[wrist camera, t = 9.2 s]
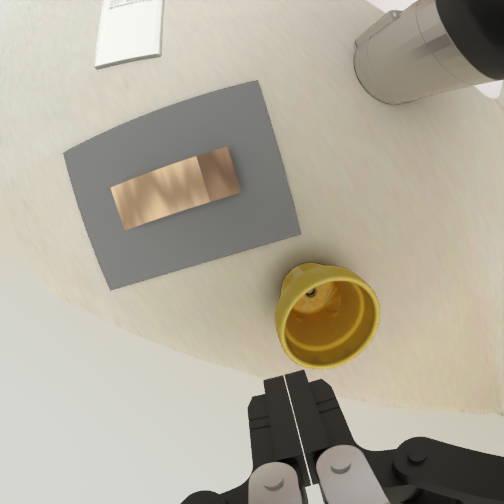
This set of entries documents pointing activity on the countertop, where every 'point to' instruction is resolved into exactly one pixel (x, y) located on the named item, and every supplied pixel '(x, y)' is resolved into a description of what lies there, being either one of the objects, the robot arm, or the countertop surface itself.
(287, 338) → the plant pot
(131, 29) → the external hard drive
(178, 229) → the mat
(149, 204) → the block
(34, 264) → the countertop surface
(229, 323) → the countertop surface
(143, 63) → the countertop surface
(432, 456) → the robot arm
